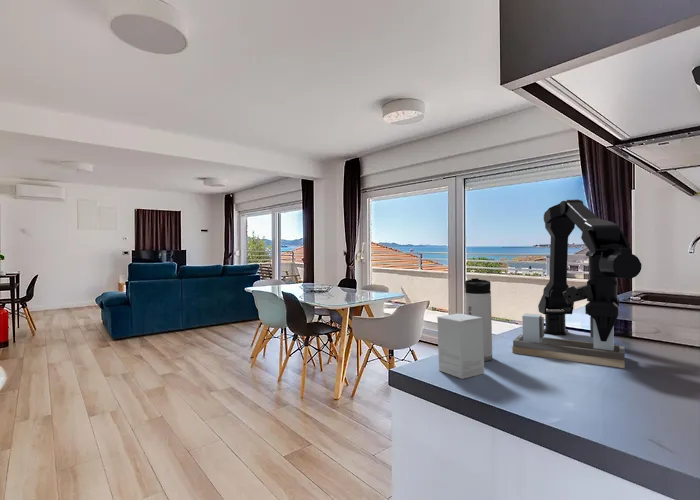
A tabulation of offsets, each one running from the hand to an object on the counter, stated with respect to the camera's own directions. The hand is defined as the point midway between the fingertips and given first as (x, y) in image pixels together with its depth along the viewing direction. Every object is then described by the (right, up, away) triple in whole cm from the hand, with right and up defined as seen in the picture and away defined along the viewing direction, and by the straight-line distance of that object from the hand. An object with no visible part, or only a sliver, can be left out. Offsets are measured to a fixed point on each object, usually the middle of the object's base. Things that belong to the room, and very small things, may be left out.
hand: (603, 339), depth 92 cm
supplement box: (-37, -6, -6) cm, 38 cm away
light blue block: (0, -2, 0) cm, 2 cm away
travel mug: (-29, -6, +4) cm, 30 cm away
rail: (-6, -5, +5) cm, 9 cm away
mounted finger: (-13, -4, +9) cm, 16 cm away
